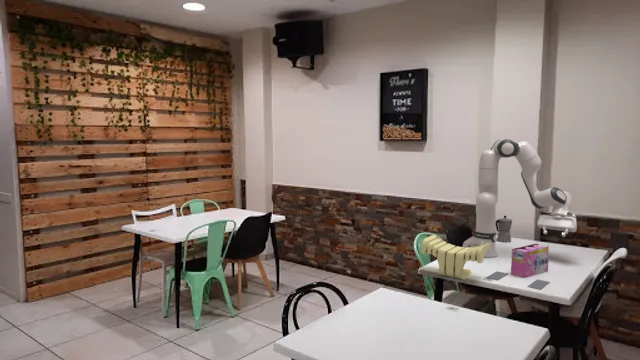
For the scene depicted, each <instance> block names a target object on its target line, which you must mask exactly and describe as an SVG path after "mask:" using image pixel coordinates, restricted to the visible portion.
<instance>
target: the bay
mask: <svg viewBox="0 0 640 360" xmlns="http://www.w3.org/2000/svg"><path fill="white" fill-rule="evenodd" d="M507 275H509V273H507V272H502V271H498V270H496V271H495V272H493V273H491V274H489V275H487V276H486V277H485V278H486V279H490V280H493V279H494V280H495V281H500V280H501V279H503V278H504V277H506V276H507ZM550 283H551V282H550V281H548V280H541V279H536V280H533V282H531V283H530V284H529V285H528V286H527V288H532V289H536V290H542V289H544V288H545V287H546V286H547V285H549V284H550Z"/></svg>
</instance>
